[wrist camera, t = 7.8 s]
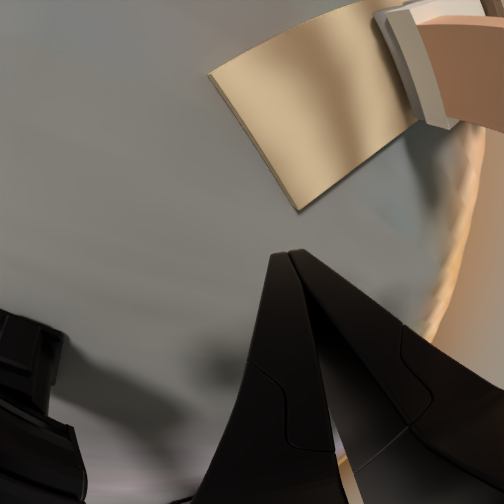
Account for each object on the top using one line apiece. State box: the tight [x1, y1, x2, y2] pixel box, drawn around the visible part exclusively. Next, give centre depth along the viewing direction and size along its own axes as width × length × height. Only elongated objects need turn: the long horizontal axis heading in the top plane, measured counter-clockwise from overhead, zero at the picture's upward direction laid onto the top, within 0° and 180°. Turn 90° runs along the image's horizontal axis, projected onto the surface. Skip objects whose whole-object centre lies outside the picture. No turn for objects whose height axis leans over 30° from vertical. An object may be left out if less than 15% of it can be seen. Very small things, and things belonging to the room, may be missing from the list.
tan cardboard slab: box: [207, 0, 504, 210], centre depth 14 cm, size 23×10×6 cm, turn 122°
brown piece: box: [372, 0, 504, 133], centre depth 11 cm, size 10×8×11 cm
